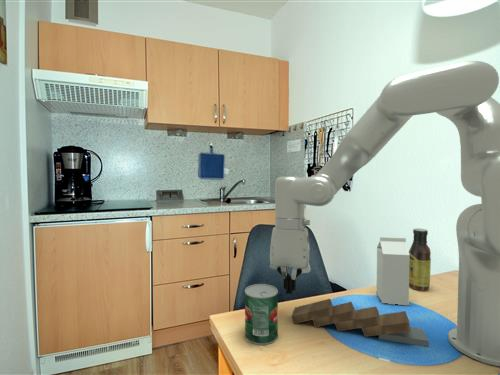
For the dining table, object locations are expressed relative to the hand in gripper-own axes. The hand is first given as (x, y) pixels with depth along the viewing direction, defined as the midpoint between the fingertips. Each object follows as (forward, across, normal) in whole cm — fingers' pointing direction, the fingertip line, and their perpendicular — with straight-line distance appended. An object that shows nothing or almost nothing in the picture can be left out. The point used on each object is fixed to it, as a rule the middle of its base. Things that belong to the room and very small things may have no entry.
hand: (289, 292), depth 74 cm
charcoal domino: (+7, -21, 0) cm, 22 cm away
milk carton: (+7, -28, -20) cm, 35 cm away
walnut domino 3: (+6, -12, 0) cm, 14 cm away
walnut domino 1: (+6, -1, 0) cm, 6 cm away
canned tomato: (+7, +5, +10) cm, 13 cm away
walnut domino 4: (+6, -18, +1) cm, 19 cm away
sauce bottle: (+7, -38, -32) cm, 50 cm away
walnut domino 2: (+6, -6, 0) cm, 9 cm away
